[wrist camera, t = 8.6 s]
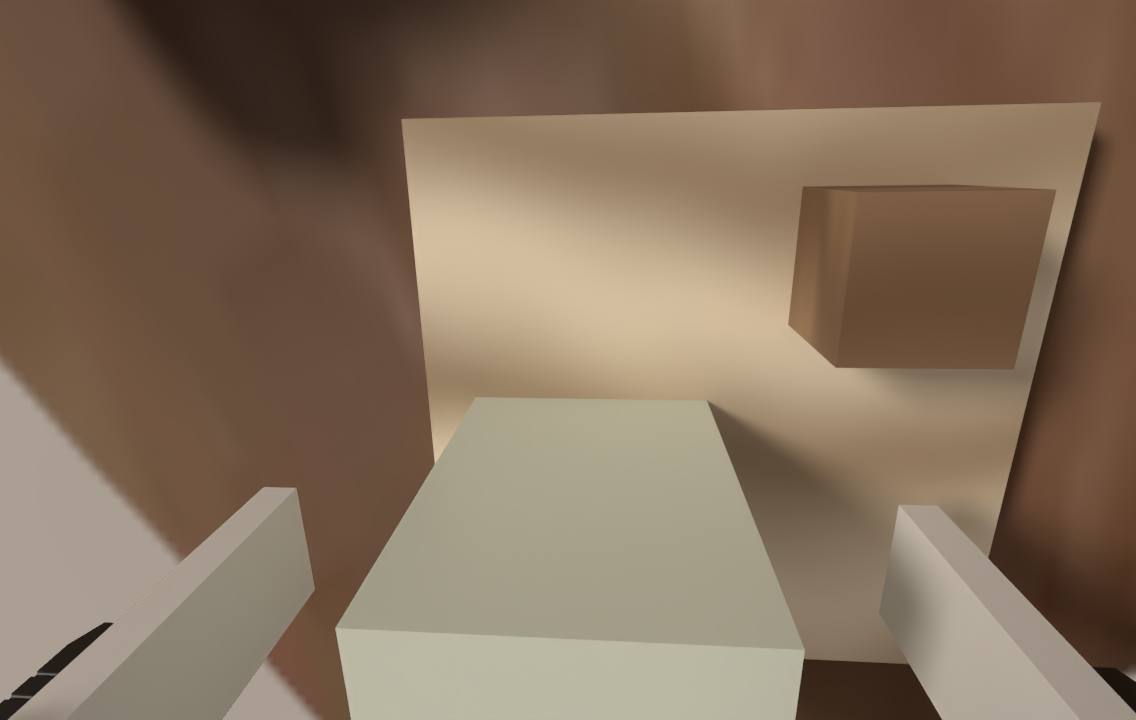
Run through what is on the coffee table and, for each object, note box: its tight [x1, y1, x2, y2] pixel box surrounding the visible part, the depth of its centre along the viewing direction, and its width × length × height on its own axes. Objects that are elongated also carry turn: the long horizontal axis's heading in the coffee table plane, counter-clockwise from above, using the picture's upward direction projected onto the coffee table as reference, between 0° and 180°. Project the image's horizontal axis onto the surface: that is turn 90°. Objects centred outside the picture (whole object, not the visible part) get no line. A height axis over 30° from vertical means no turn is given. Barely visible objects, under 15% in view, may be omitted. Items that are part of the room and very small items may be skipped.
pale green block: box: [335, 397, 805, 720], centre depth 11 cm, size 6×6×8 cm
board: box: [401, 102, 1101, 664], centre depth 13 cm, size 14×14×4 cm
